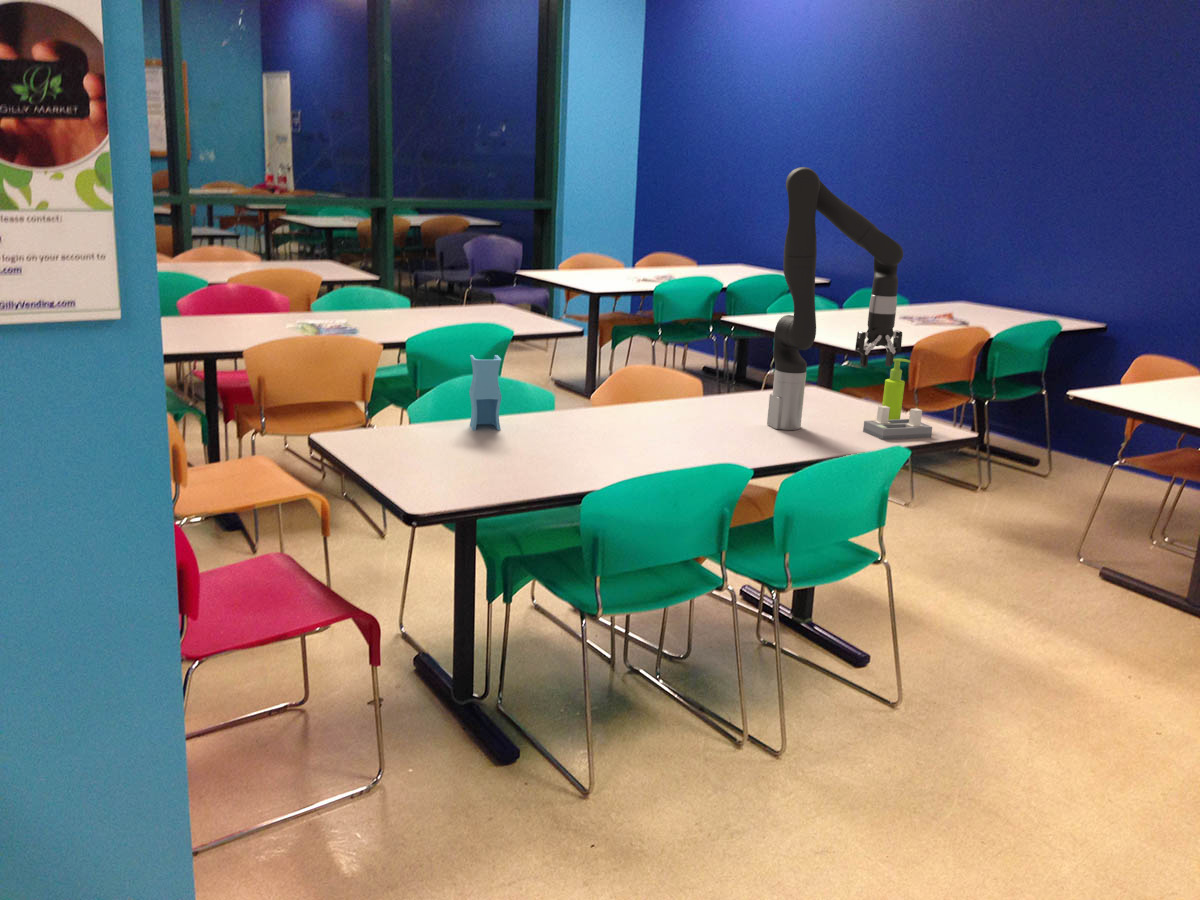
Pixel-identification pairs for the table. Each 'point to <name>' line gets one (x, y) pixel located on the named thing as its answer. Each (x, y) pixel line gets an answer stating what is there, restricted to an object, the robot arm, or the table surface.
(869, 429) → the switch bank
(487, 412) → the notched blue pillar
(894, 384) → the soap dispenser
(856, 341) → the robot arm
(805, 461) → the table surface
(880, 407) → the tab
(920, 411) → the tab
